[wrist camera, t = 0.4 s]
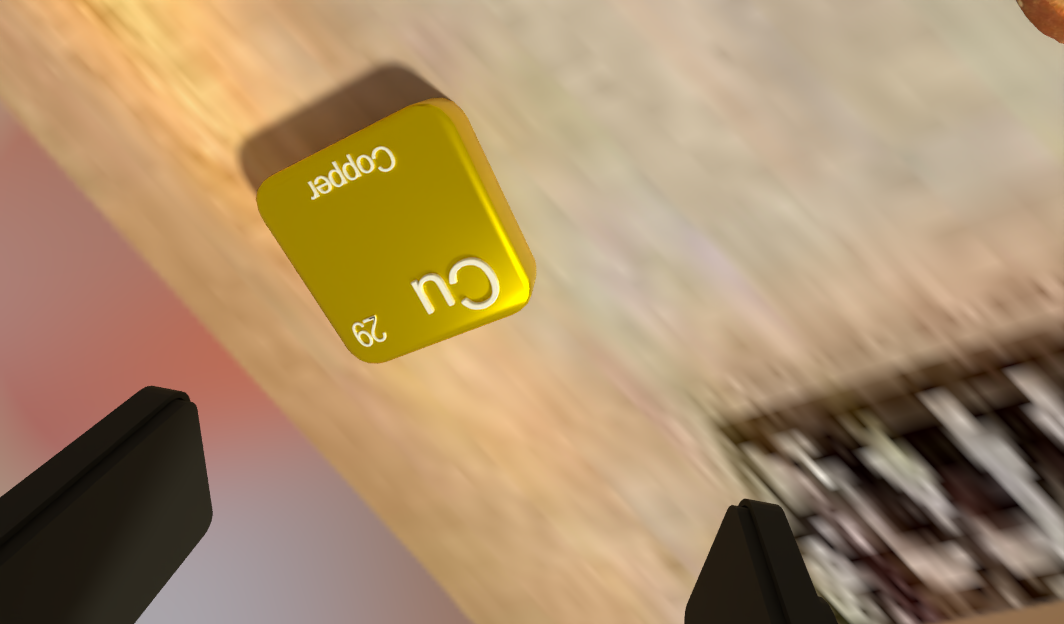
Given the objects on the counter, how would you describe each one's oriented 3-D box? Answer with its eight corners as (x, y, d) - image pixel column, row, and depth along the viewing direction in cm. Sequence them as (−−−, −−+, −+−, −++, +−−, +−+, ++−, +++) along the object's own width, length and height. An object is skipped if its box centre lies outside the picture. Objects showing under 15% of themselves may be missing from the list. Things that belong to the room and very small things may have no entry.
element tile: (454, 85, 36) (435, 90, 32) (546, 281, 42) (541, 308, 37) (274, 176, 40) (236, 192, 36) (380, 345, 46) (358, 376, 41)
